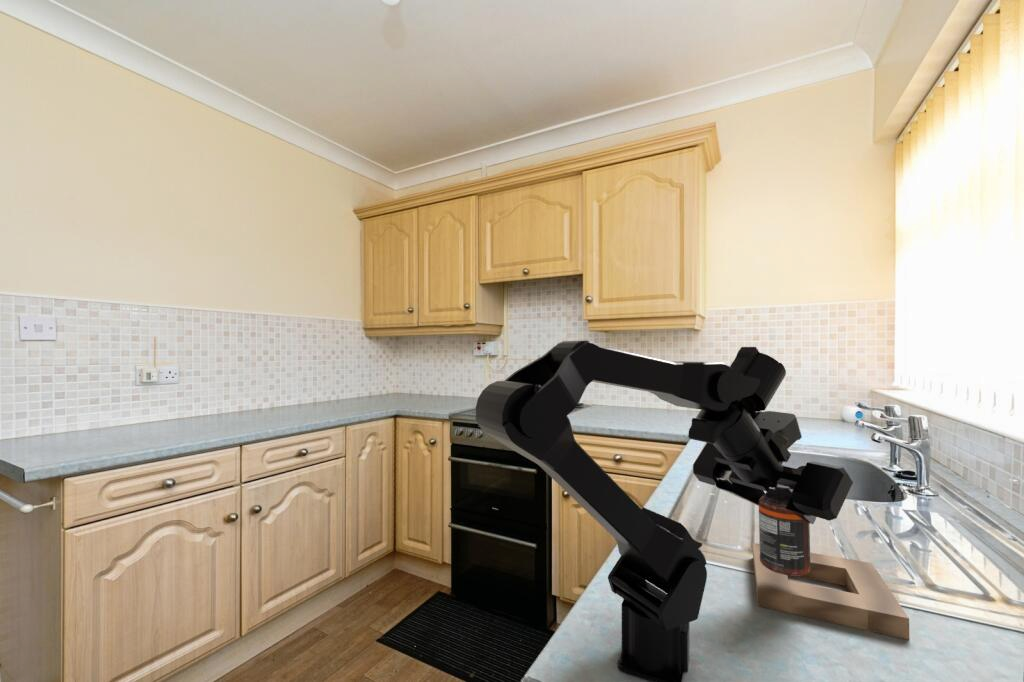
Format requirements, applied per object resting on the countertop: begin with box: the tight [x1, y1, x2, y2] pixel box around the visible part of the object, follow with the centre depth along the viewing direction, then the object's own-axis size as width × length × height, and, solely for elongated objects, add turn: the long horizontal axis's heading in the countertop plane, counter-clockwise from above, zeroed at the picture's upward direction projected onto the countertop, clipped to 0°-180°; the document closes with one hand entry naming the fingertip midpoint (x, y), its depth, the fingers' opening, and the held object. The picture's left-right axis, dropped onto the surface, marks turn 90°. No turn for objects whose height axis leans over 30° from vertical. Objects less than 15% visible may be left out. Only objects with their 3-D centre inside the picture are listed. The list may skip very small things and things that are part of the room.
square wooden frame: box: [752, 542, 910, 640], centre depth 65 cm, size 16×16×2 cm
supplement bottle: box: [758, 484, 811, 577], centre depth 61 cm, size 6×6×11 cm
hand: (789, 513), depth 62 cm, fingers closed on supplement bottle, 6 cm apart
